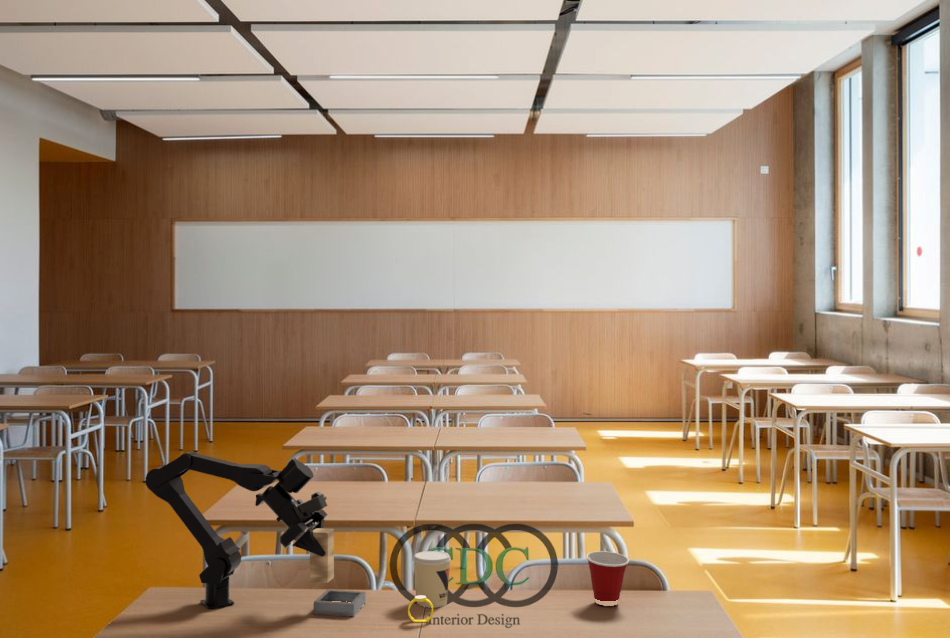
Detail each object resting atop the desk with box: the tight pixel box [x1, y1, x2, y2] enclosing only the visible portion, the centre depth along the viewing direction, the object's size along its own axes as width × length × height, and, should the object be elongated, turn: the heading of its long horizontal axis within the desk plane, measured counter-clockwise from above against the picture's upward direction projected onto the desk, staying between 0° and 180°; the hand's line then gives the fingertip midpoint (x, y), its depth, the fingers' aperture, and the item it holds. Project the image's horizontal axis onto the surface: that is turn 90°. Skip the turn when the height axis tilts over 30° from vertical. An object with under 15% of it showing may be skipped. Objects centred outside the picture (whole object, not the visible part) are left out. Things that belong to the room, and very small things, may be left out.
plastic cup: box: [586, 550, 630, 601], centre depth 221 cm, size 11×11×12 cm
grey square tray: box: [313, 589, 367, 617], centre depth 214 cm, size 10×10×3 cm
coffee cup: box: [413, 550, 451, 609], centre depth 220 cm, size 9×9×12 cm
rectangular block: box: [309, 527, 335, 584], centre depth 213 cm, size 4×4×12 cm
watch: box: [407, 595, 434, 624], centre depth 206 cm, size 6×3×6 cm, turn 93°
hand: (327, 552), depth 213 cm, fingers closed on rectangular block, 4 cm apart
